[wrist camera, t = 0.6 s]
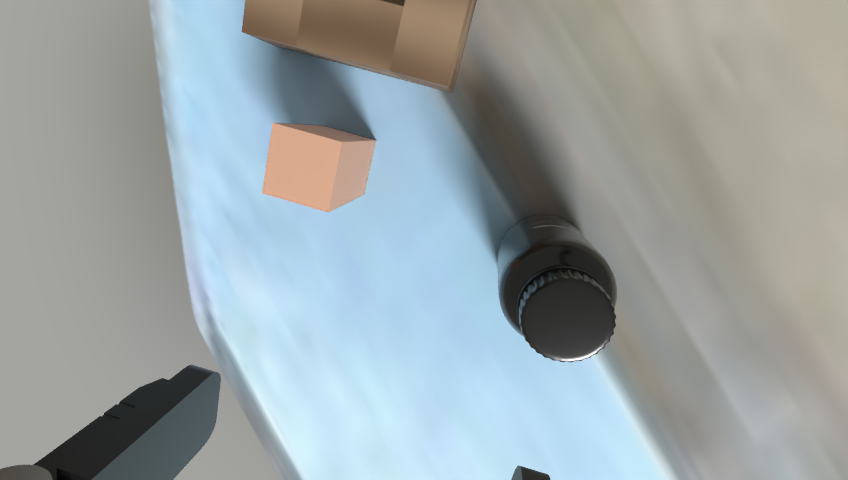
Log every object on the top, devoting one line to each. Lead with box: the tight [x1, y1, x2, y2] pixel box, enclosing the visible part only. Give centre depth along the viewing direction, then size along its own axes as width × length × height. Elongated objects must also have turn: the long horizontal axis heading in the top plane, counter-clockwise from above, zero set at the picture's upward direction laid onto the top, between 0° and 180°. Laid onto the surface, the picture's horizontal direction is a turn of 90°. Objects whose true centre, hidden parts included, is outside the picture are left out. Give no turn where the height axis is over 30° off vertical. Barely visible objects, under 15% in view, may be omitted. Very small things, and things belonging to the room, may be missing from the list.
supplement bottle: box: [498, 215, 617, 362], centre depth 27 cm, size 7×7×12 cm
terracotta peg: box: [262, 123, 376, 212], centre depth 29 cm, size 4×4×8 cm
